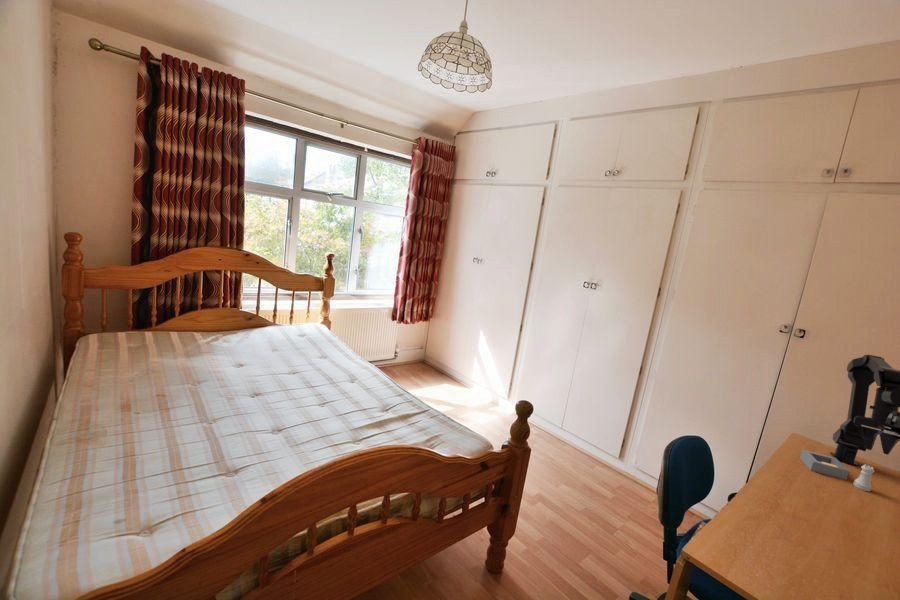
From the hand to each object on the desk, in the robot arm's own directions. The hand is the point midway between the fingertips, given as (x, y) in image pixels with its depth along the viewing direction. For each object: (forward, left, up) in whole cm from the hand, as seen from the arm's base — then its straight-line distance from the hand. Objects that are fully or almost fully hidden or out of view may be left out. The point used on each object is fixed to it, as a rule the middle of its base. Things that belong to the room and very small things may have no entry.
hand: (877, 451), depth 133 cm
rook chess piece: (-1, -1, -14) cm, 14 cm away
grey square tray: (-9, -9, -14) cm, 18 cm away
